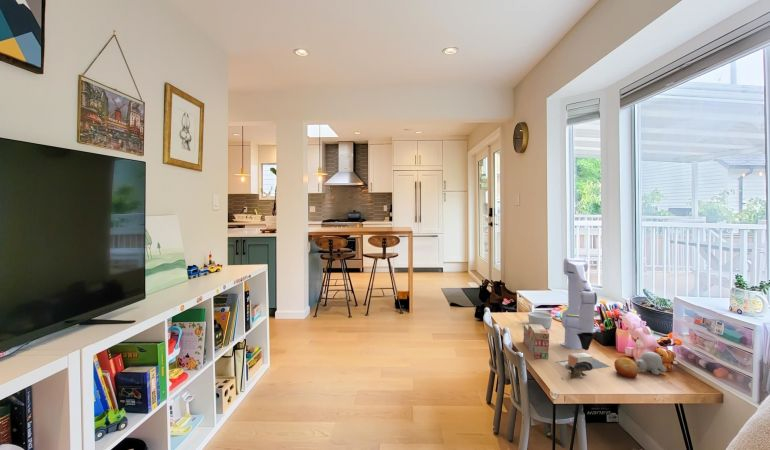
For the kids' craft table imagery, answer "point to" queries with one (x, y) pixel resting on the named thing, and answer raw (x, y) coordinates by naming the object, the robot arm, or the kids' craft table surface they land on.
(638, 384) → the kids' craft table surface
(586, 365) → the squirrel figurine
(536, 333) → the stack of blocks
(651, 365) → the toy rhinoceros
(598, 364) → the mat
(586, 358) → the tall block
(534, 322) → the ramekin
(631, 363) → the fruit
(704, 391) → the kids' craft table surface
